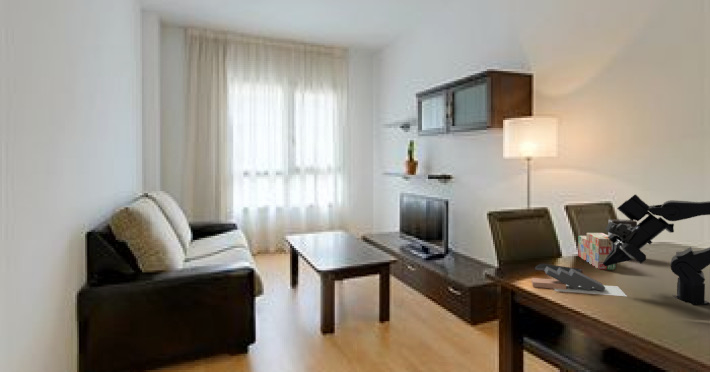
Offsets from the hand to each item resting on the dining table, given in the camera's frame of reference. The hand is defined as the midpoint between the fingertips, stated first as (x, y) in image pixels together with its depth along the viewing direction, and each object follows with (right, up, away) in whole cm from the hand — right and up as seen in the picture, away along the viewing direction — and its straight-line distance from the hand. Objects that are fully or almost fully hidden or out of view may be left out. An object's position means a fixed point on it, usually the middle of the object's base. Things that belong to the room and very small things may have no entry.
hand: (604, 264), depth 128 cm
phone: (-2, -8, +26) cm, 27 cm away
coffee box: (+35, -5, +43) cm, 56 cm away
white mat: (-4, -9, +2) cm, 10 cm away
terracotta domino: (-10, -7, +4) cm, 13 cm away
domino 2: (-4, -7, +2) cm, 9 cm away
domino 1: (-7, -7, +3) cm, 11 cm away
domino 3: (0, -7, +1) cm, 8 cm away
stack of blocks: (+19, -6, +36) cm, 41 cm away
